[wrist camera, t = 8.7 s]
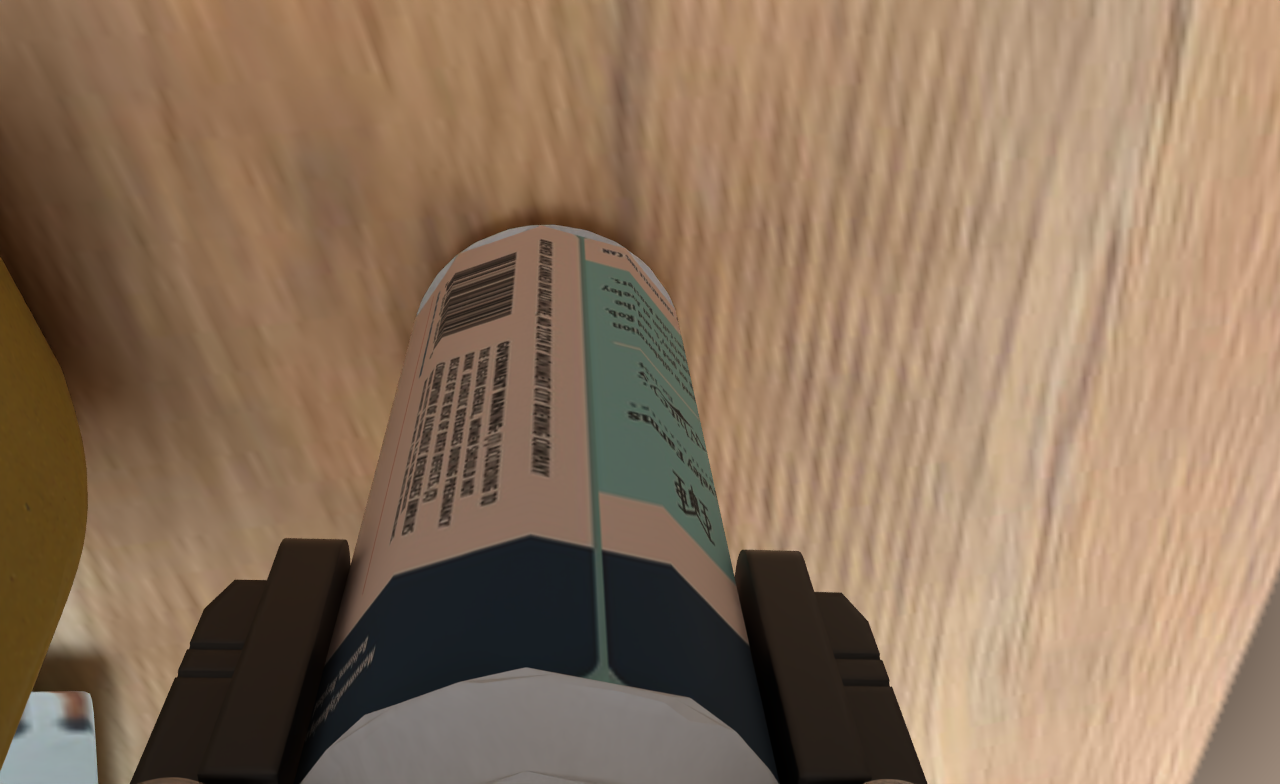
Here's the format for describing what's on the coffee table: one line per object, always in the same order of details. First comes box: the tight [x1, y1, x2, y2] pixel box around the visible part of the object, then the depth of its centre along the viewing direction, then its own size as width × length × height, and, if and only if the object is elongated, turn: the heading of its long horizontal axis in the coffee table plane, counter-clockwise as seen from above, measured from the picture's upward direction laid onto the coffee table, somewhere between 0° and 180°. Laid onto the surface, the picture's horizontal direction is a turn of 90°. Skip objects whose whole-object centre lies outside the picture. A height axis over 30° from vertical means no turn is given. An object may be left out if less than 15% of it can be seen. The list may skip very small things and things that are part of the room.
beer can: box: [294, 225, 780, 784], centre depth 15 cm, size 5×5×12 cm
